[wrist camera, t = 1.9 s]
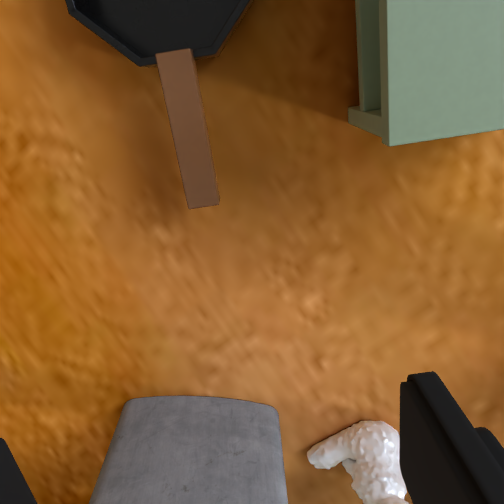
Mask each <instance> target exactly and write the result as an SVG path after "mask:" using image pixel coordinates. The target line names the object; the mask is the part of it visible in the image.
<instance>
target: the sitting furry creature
mask: <svg viewBox="0 0 504 504" xmlns="http://www.w3.org/2000/svg"><path fill="white" fill-rule="evenodd" d="M399 448H400V436H399V434H398V431H397V430H395V429H393V427H392V426H389V425H388V424H386V423H385V422H383V421H371V420H369V421H360V422H359V423H357V424H353V425H352V427H348V428H347V429H345V430H342V431H341V432H339V433H337V434H335V435H333V436H331V437H329V438H327V439H325V440H323V441H321V442H319V443H317V444H316V445H314V446H312V448H311V449H310V450H309V451H308V452H307V457H308V460H309V462H310V463H311V464H314V466H315V468H317V469H324V468H325V469H330V468H331V467H335V466H336V465H337V464H338V463H340V462H342V465H343V467H345V469H346V471H347V473H349V474H350V475H351V476H352V480H353V483H352V484H351V486H352V489H353V490H356V493H357V494H358V496H359V498H360V499H362V500H363V504H409V503H408V502H407V501H405V500H404V497H405V494H406V493H407V490H406V485H405V483H404V480H403V478H402V474H401V470H400V465H399Z"/></svg>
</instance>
